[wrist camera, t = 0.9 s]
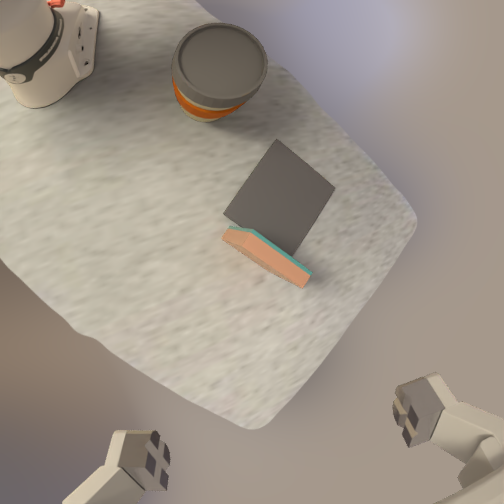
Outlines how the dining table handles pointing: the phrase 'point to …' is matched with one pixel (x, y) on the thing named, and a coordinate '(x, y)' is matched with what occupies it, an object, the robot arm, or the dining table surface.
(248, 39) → the reusable coffee cup
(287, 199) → the mat
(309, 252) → the dining table surface
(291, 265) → the tile
